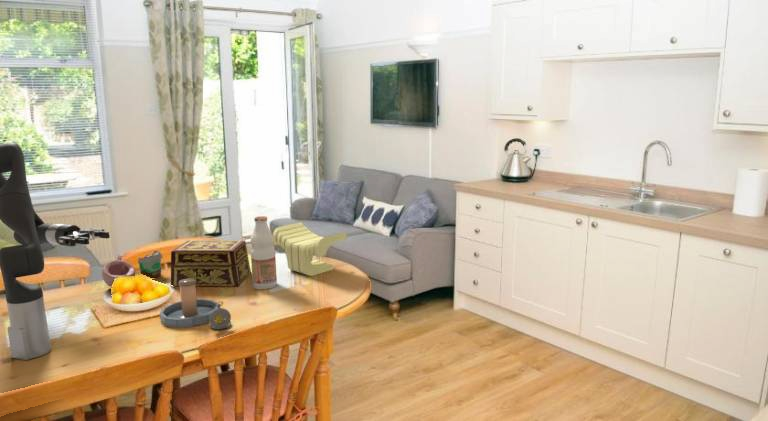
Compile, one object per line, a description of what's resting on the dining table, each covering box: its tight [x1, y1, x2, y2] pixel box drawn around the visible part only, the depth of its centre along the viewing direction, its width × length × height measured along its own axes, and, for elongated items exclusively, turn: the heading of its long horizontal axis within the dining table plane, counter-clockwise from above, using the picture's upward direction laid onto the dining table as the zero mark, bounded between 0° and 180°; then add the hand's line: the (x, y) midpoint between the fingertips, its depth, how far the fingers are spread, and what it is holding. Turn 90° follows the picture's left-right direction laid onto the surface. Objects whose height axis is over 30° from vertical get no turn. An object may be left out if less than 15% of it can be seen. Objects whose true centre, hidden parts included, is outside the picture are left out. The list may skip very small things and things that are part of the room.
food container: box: [137, 250, 163, 280], centre depth 241 cm, size 12×6×10 cm, turn 168°
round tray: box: [159, 298, 219, 328], centre depth 198 cm, size 19×19×3 cm
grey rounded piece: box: [209, 301, 232, 330], centre depth 187 cm, size 8×8×10 cm
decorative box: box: [170, 239, 252, 288], centre depth 236 cm, size 28×19×15 cm
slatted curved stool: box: [272, 221, 347, 277], centre depth 246 cm, size 30×16×18 cm, turn 47°
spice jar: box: [179, 278, 198, 317], centre depth 197 cm, size 5×5×12 cm
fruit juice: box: [250, 215, 278, 290], centre depth 225 cm, size 9×9×28 cm
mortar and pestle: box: [101, 259, 136, 288], centre depth 228 cm, size 12×12×11 cm
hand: (98, 238), depth 194 cm, fingers open, 8 cm apart
